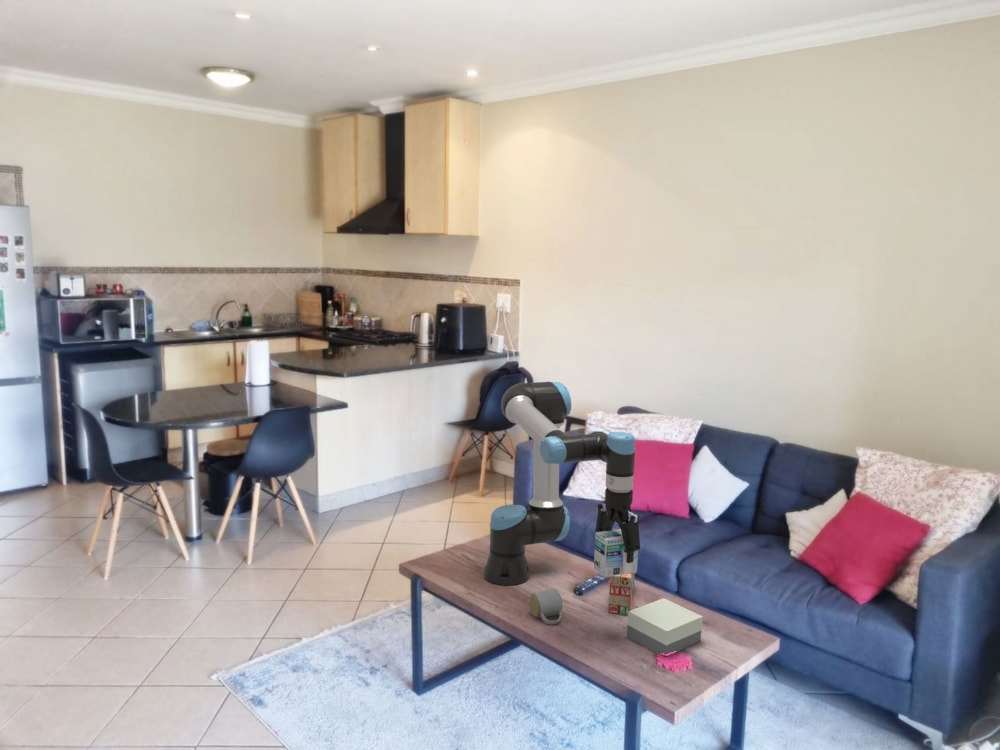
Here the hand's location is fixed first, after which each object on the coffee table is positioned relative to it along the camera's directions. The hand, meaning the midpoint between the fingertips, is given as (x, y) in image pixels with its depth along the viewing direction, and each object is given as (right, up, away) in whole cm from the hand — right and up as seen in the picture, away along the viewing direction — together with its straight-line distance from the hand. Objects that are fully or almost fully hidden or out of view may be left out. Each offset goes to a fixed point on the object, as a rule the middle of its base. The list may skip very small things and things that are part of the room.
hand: (615, 568), depth 209 cm
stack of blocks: (+6, -17, +25) cm, 31 cm away
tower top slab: (+14, -17, 0) cm, 22 cm away
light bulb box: (0, -1, 0) cm, 1 cm away
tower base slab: (+14, -21, +1) cm, 25 cm away
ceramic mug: (-18, -18, +13) cm, 28 cm away
